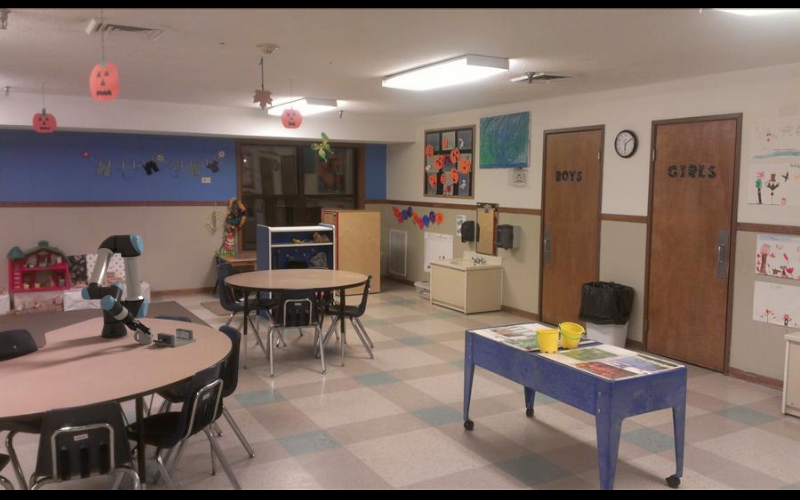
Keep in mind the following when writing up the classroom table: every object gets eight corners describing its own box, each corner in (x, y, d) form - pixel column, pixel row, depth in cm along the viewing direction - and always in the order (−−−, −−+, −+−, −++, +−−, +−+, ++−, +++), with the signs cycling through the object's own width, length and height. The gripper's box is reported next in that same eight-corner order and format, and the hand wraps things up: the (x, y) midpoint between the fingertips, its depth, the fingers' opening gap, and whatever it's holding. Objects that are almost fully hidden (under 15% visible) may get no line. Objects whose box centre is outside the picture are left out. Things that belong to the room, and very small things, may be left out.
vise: (146, 345, 378) (146, 335, 378) (176, 337, 397) (176, 327, 396) (167, 349, 369) (166, 338, 368) (196, 341, 388) (196, 330, 387)
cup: (151, 344, 381) (150, 329, 381) (133, 345, 378) (132, 331, 378) (152, 341, 388) (151, 327, 387) (135, 342, 385) (134, 328, 384)
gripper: (108, 318, 373) (133, 339, 389) (130, 322, 363) (155, 343, 378) (115, 308, 377) (140, 329, 393) (137, 311, 367) (162, 333, 382)
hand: (148, 336), depth 385 cm, fingers closed on cup, 8 cm apart
